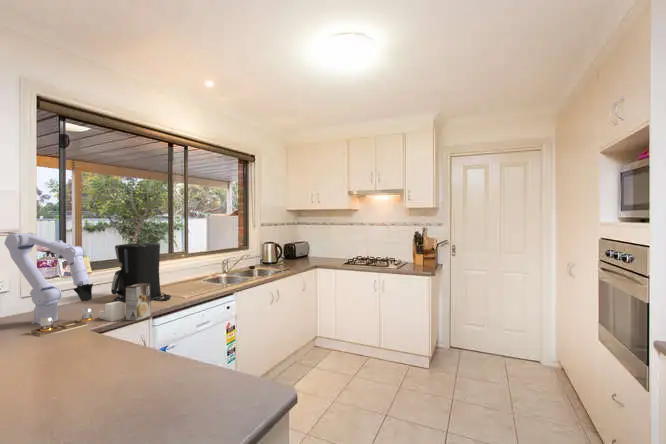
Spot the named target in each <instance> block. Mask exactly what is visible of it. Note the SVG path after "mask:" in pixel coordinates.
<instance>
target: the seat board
mask: <svg viewBox="0 0 666 444" xmlns="http://www.w3.org/2000/svg"><path fill="white" fill-rule="evenodd" d="M85 326H88V324H87V321H86V322H85V321H82V319H74V320H70V321H65V322H61V323H57V324H56V325H54V324H53V330H49V331H45V332H40V329H41V327H40V328H35V329H31V330H30V332H29V334H31V335H33V336H37V337H41V338H44V337H47V336H51V335H56V334H58V333H59V334H60V333H63V332H67V331H71V330H74V329H79V328H82V327H85Z"/></svg>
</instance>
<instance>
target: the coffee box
mask: <svg viewBox="0 0 666 444" xmlns="http://www.w3.org/2000/svg"><path fill="white" fill-rule="evenodd" d="M125 289H126V302H125V320H126V321H128V320H129V321H138V320H139V321H140V320H141V319H145V318H147V317H149V316H152V303H151V301H152V300H151V291H150V284H145V283H139V284H135V285H131V286H127V287H125Z"/></svg>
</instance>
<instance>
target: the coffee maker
mask: <svg viewBox="0 0 666 444" xmlns="http://www.w3.org/2000/svg"><path fill="white" fill-rule="evenodd" d="M114 251H115V256H116V260H117V262H118V263H120V264H121V266H120V267H119V268H120V269H119V270H117V271H115V273H114V275H113V279H112V282H111V283H112V284H111V288H110V289H111V294H112V295H117V296H116V297H114V298H113V299H112V300H113V301H115V300H116V301H115V302H117V301H120V302H125V303H126V289H125V287H127V286H131V285H135V284H139V283H145V284H150V291H151V301H154V299H155V301H156V302H157V301H164V302H166V301H168V300H169V299H171V298H172V296H171V295H170V294H166V293H165V292H161V283H160V258H161V257H160V254H161V244H160V243H155V242H137V243H124V244H123V243H122V244H117V245H115V246H114Z"/></svg>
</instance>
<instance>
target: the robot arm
mask: <svg viewBox="0 0 666 444" xmlns="http://www.w3.org/2000/svg"><path fill="white" fill-rule="evenodd" d="M4 246H5V247H6V249H8V251H9V255H10V258H11V260H12V261H13V262H14V264H15V265H16V266H17V268H18V270H19V271H20V272H21V273H22V275H23V276H24V278H25V280H26V281H27V282H28V283H29V285H30V287H31V290H30V292H29V295H30V297H31V301H32V303H33V305H35V307H34V308H33V321H32V322H31V324H38V325H40V318H42V317H46V316H53V323H54V322H57V321H58V320H59V319H58V303H59V300H60V299H61V298H62V296H63V293H62V291H61V289H60V288H58V287H57V286H56V285H55V284H54V283H51V282H48V281H47V279H45V277H44V276H43V274H42V273H41V271H40V270H39V268H38V267H37V265H36V264H35V263H34V261H33V259H32V258H31V257H30V255H29V253H31V252H32V249H33V248H34V247H35V246H38V247H43V248H46V249H49V252H50V253H53V254H55V255H58V256H61V257H62V258H63V259H64V260H65V261H66V263H67V264H68V267H69V271H70V274H71V278H72V282H73V286H75V288H72V290H73V291H74V292H75V293H76V294H77V296H78V298H79V300H80V301H81V302H88V301H92V299H93V297H92V294H93V293H92V291H93V285H94V283H89V282H91V281H93V278H89V275H88V271H87V267H86V264H85V263H86V262H85V260H84V256H85V249H84V248H83V247H82V246H80V245H76V246H74V245H73V244H71V243H66V242H64V241H63V240H54V241H52V240H50V239H48V238H45V237H43V236H41V235H38V234H37V233H33V232H25V233H24V232H23V233H13V232H12V233H9V234H8V235H7V236H6V238H5V240H4Z"/></svg>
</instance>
